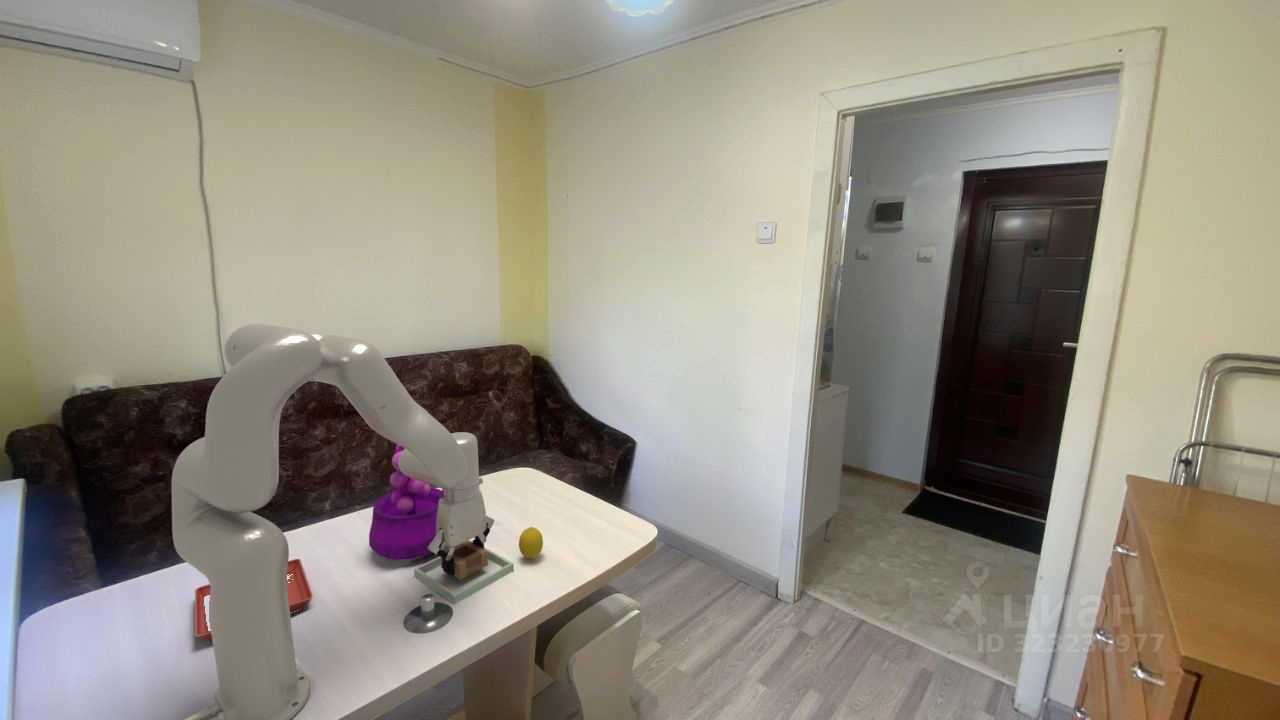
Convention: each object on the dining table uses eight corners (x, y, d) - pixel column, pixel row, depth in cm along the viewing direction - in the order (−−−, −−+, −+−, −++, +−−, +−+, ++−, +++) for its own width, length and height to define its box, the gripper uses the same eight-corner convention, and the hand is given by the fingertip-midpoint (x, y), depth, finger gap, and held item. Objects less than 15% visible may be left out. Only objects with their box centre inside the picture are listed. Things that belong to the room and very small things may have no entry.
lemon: (537, 566, 121) (537, 534, 119) (515, 563, 122) (514, 531, 120) (546, 553, 126) (546, 523, 125) (525, 550, 127) (524, 520, 126)
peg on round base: (420, 644, 96) (418, 620, 95) (394, 623, 101) (392, 600, 100) (462, 618, 103) (461, 595, 102) (436, 599, 108) (435, 578, 108)
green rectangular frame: (455, 607, 106) (454, 596, 106) (414, 579, 115) (413, 568, 115) (513, 573, 118) (513, 563, 118) (472, 550, 127) (472, 540, 126)
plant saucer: (196, 601, 107) (194, 587, 106) (301, 570, 118) (299, 556, 117) (197, 653, 93) (194, 637, 93) (315, 612, 105) (313, 597, 104)
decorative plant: (456, 562, 122) (450, 439, 116) (366, 578, 115) (355, 448, 109) (452, 524, 139) (447, 415, 133) (374, 536, 132) (365, 421, 126)
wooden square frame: (441, 567, 115) (440, 553, 115) (468, 554, 121) (468, 540, 120) (460, 579, 111) (459, 564, 111) (487, 565, 117) (487, 550, 116)
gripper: (483, 473, 122) (486, 543, 125) (413, 499, 108) (418, 577, 112) (504, 482, 117) (506, 554, 121) (434, 510, 104) (438, 591, 107)
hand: (464, 565), depth 116 cm, fingers closed on wooden square frame, 6 cm apart
